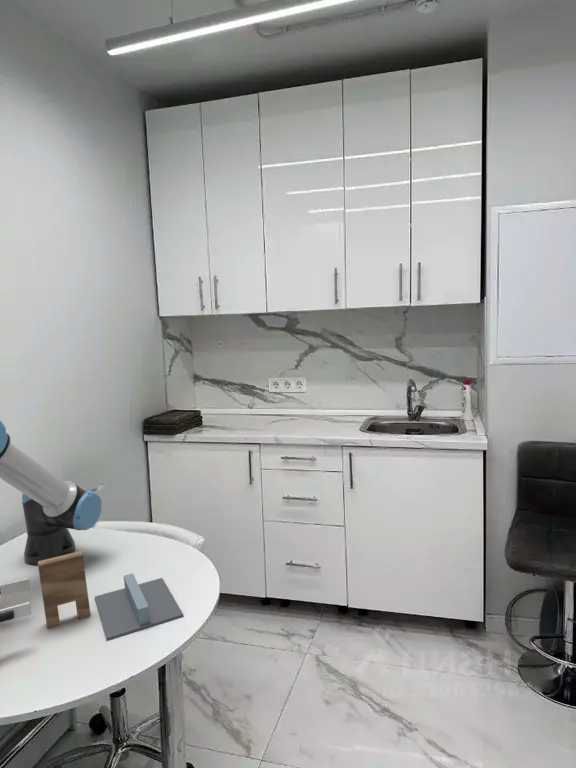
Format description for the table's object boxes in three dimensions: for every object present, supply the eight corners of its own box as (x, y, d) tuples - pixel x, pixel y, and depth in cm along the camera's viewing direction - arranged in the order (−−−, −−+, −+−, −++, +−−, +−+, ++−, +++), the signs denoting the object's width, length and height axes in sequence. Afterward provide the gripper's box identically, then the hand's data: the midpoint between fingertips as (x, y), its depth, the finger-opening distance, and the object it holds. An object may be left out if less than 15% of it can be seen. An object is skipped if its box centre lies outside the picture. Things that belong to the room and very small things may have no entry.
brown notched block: (46, 622, 134) (37, 561, 132) (89, 610, 139) (81, 550, 137) (47, 628, 132) (38, 566, 130) (90, 615, 136) (82, 555, 134)
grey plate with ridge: (94, 598, 145) (92, 582, 144) (162, 579, 152) (160, 564, 152) (106, 640, 125) (104, 621, 124) (183, 616, 133) (181, 598, 132)
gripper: (-64, 612, 133) (31, 587, 142) (-82, 669, 111) (32, 635, 120) (-69, 583, 132) (27, 560, 141) (-88, 635, 110) (28, 603, 119)
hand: (30, 595), depth 131 cm, fingers open, 13 cm apart
